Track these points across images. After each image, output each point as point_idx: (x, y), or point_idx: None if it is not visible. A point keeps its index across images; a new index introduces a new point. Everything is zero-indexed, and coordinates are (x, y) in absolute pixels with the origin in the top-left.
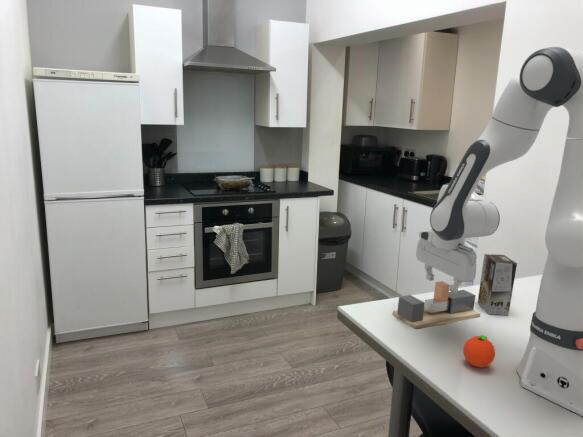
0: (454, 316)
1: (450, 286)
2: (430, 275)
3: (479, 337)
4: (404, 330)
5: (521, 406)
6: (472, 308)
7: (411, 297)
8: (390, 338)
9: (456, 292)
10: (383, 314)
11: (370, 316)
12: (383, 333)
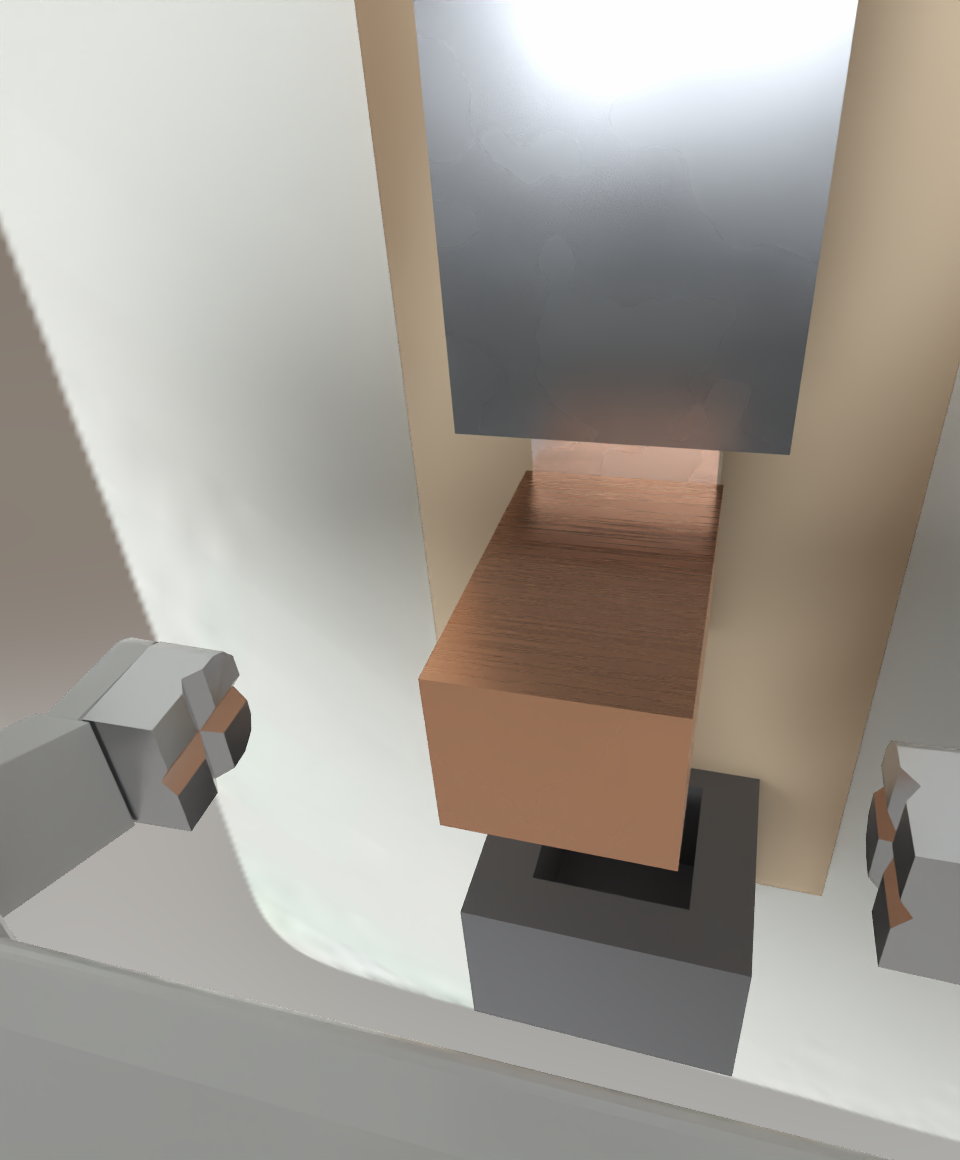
0: (897, 348)
1: (907, 945)
2: (188, 810)
3: None
4: (788, 934)
5: None
6: None
7: (540, 957)
8: (841, 1064)
9: (504, 14)
10: (452, 846)
11: (460, 926)
12: (748, 1042)
